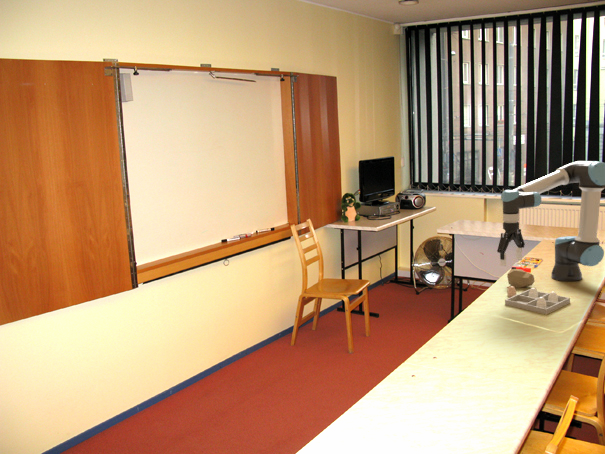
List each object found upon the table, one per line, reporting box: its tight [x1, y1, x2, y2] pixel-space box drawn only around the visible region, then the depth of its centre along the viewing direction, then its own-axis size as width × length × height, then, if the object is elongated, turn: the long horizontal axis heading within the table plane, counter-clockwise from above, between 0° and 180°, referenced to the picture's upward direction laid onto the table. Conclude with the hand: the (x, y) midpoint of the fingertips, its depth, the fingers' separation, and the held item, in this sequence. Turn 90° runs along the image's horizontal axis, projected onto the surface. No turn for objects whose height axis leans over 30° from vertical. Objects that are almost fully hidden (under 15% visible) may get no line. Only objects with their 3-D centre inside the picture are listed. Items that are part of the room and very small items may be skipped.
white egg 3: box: [548, 291, 559, 303], centre depth 252 cm, size 4×4×6 cm
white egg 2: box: [537, 297, 546, 309], centre depth 247 cm, size 4×4×6 cm
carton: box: [504, 288, 571, 315], centre depth 254 cm, size 21×21×3 cm
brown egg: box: [507, 285, 517, 298], centre depth 268 cm, size 4×4×6 cm
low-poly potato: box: [507, 268, 535, 288], centre depth 281 cm, size 15×11×12 cm
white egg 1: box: [529, 287, 538, 298], centre depth 260 cm, size 4×4×6 cm
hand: (511, 262), depth 265 cm, fingers open, 13 cm apart
